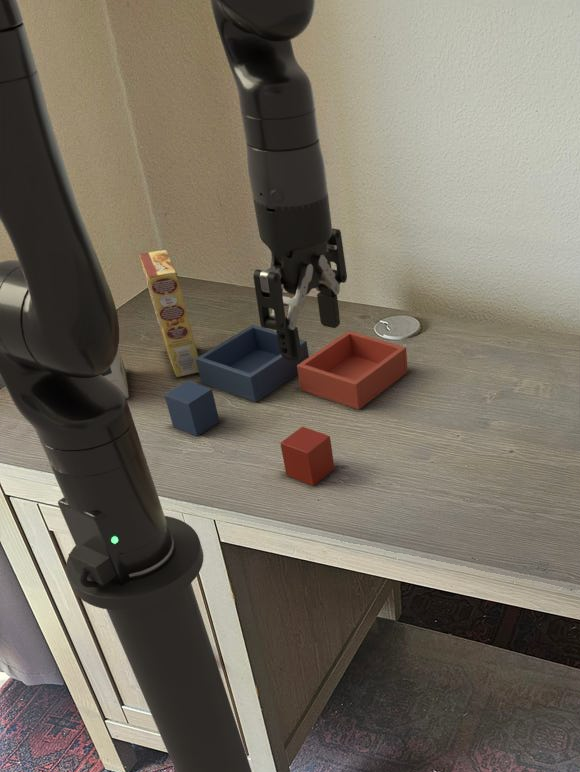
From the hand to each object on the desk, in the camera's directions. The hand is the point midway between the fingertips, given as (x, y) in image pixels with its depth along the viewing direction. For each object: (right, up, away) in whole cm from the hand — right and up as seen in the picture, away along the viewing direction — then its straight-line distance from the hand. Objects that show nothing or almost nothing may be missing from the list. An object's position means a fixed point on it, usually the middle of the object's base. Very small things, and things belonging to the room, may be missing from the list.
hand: (311, 341), depth 98 cm
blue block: (-20, -4, +22) cm, 31 cm away
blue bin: (-15, +6, +32) cm, 36 cm away
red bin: (+1, +5, +31) cm, 31 cm away
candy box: (-26, +9, +35) cm, 44 cm away
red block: (-3, -12, +14) cm, 19 cm away
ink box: (-35, +3, +29) cm, 46 cm away
